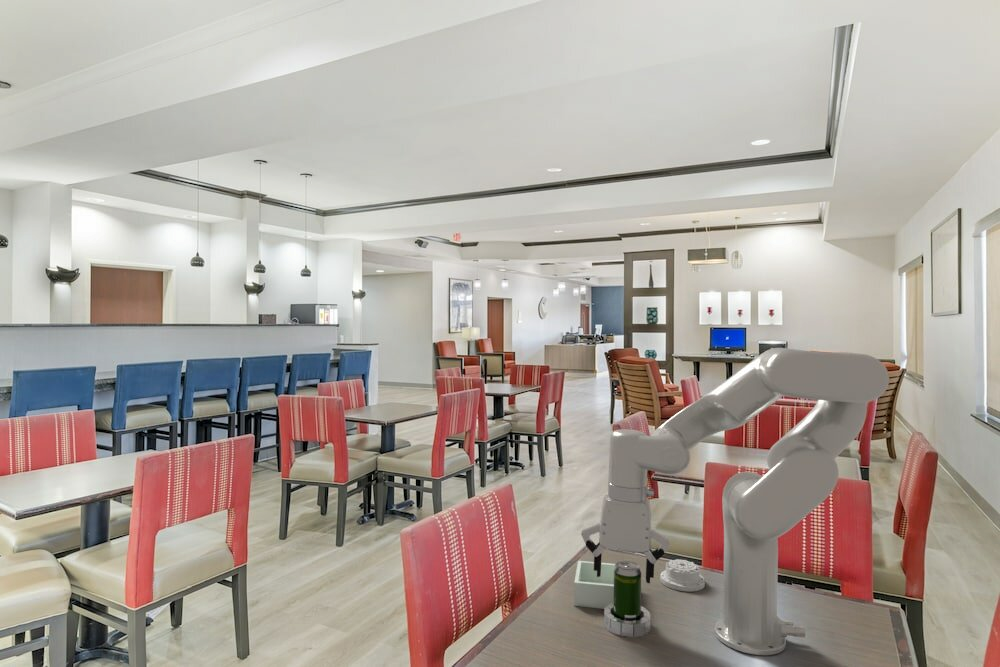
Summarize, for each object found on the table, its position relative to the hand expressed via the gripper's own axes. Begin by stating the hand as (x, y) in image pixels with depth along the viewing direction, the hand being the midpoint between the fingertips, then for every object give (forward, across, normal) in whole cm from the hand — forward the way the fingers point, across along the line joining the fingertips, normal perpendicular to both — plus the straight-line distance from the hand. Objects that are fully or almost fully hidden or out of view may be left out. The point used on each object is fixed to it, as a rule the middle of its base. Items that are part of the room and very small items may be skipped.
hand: (623, 577), depth 117 cm
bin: (+10, +4, -12) cm, 16 cm away
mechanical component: (+10, -14, -23) cm, 29 cm away
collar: (+10, -1, 0) cm, 10 cm away
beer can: (+10, -1, 0) cm, 10 cm away
